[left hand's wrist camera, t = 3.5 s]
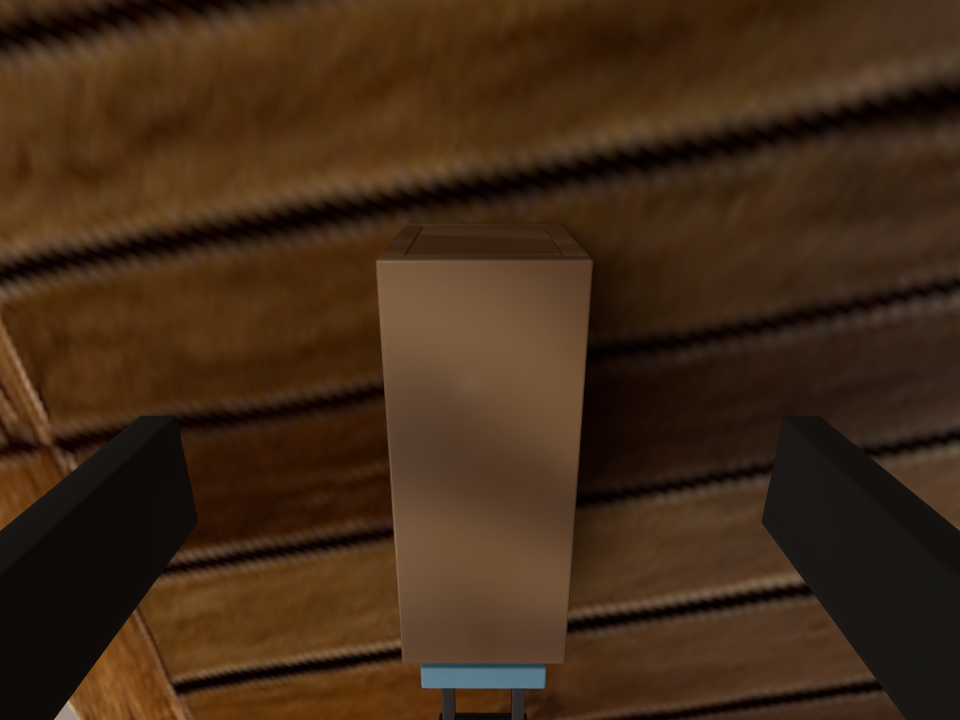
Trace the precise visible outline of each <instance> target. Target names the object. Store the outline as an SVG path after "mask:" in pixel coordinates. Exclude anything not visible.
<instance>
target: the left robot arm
mask: <svg viewBox="0 0 960 720" xmlns="http://www.w3.org/2000/svg"><path fill="white" fill-rule="evenodd" d="M197 524H198V517H197V513H196V508H195V503H194V498H193V494H192V489H191V484H190V479H189V475H188V470H187V465H186V460H185V456H184V451H183V446H182V441H181V437H180V432H179V427H178V422H177V418H176V416H140V417H139V418H138V419H136V420H135V421H134V422H133V423H131V424H130V425H129V426H128V427H127V428H125V429H124V430H123V431H122V432H120V433H119V434H118V435H117V436H116V437H114V438H113V439H112V440H111V441H109V442H108V443H107V444H106V445H105V446H103V447H102V448H101V449H100V450H99V451H97V452H96V453H95V454H94V455H92V456H91V457H90V458H89V459H88V460H86V461H85V462H84V463H83V464H81V465H80V466H79V467H78V468H77V469H75V470H74V471H73V472H72V473H70V474H69V475H68V476H67V477H66V478H64V479H63V480H62V481H61V482H59V483H58V484H57V485H56V486H55V487H53V488H52V489H51V490H50V491H48V492H47V493H46V494H45V495H44V496H42V497H41V498H40V499H39V500H38V501H36V502H35V503H34V504H33V505H31V506H30V507H29V508H28V509H27V510H25V511H24V512H23V513H22V514H20V515H19V516H18V517H17V518H16V519H14V520H13V521H12V522H11V523H9V524H8V525H7V526H6V527H5V528H3V529H2V530H1V531H0V720H54V719H55V717H56V716H57V715H58V713H59V712H60V711H61V709H62V708H63V707H64V705H65V704H66V702H67V701H68V700H69V698H70V697H71V696H72V694H73V693H74V692H75V690H76V689H77V687H78V686H79V685H80V683H81V682H82V681H83V679H84V678H85V677H86V675H87V674H88V672H89V671H90V670H91V668H92V667H93V666H94V664H95V663H96V661H97V660H98V659H99V657H100V656H101V655H102V653H103V652H104V651H105V649H106V648H107V646H108V645H109V644H110V642H111V641H112V640H113V638H114V637H115V636H116V634H117V633H118V631H119V630H120V629H121V627H122V626H123V625H124V623H125V622H126V621H127V619H128V618H129V616H130V615H131V614H132V612H133V611H134V610H135V608H136V607H137V606H138V604H139V603H140V601H141V600H142V599H143V597H144V596H145V595H146V593H147V592H148V590H149V589H150V588H151V586H152V585H153V584H154V582H155V581H156V580H157V578H158V577H159V575H160V574H161V573H162V571H163V570H164V569H165V567H166V566H167V565H168V563H169V562H170V560H171V559H172V558H173V556H174V555H175V554H176V552H177V551H178V550H179V548H180V547H181V545H182V544H183V543H184V541H185V540H186V539H187V537H188V536H189V534H190V533H191V532H192V530H193V529H194V528H195V526H196V525H197ZM762 524H763V525H764V526H765V528H766V529H767V530H768V532H769V533H770V534H771V536H772V537H773V539H774V540H775V541H776V543H777V544H778V545H779V547H780V548H781V550H782V551H783V552H784V554H785V555H786V556H787V558H788V559H789V560H790V562H791V563H792V565H793V566H794V567H795V569H796V570H797V571H798V573H799V574H800V575H801V577H802V578H803V580H804V581H805V582H806V584H807V585H808V586H809V588H810V589H811V590H812V592H813V593H814V595H815V596H816V597H817V599H818V600H819V601H820V603H821V604H822V606H823V607H824V608H825V610H826V611H827V612H828V614H829V615H830V616H831V618H832V619H833V621H834V622H835V623H836V625H837V626H838V627H839V629H840V630H841V631H842V633H843V634H844V636H845V637H846V638H847V640H848V641H849V642H850V644H851V645H852V646H853V648H854V649H855V651H856V652H857V653H858V655H859V656H860V657H861V659H862V660H863V662H864V663H865V664H866V666H867V667H868V668H869V670H870V671H871V672H872V674H873V675H874V677H875V678H876V679H877V681H878V682H879V683H880V685H881V686H882V687H883V689H884V690H885V692H886V693H887V694H888V696H889V697H890V698H891V700H892V701H893V702H894V704H895V705H896V707H897V708H898V709H899V711H900V712H901V713H902V715H903V716H904V717H905V719H906V720H960V531H959V530H958V529H957V528H955V527H954V526H953V525H952V524H951V523H949V522H948V521H947V520H946V519H944V518H943V517H942V516H941V515H940V514H938V513H937V512H936V511H935V510H933V509H932V508H931V507H930V506H929V505H927V504H926V503H925V502H924V501H922V500H921V499H920V498H919V497H918V496H916V495H915V494H914V493H913V492H912V491H910V490H909V489H908V488H907V487H905V486H904V485H903V484H902V483H901V482H899V481H898V480H897V479H896V478H894V477H893V476H892V475H891V474H890V473H888V472H887V471H886V470H885V469H883V468H882V467H881V466H880V465H879V464H877V463H876V462H875V461H874V460H872V459H871V458H870V457H869V456H868V455H866V454H865V453H864V452H863V451H861V450H860V449H859V448H858V447H857V446H855V445H854V444H853V443H852V442H851V441H849V440H848V439H847V438H846V437H844V436H843V435H842V434H841V433H840V432H838V431H837V430H836V429H835V428H833V427H832V426H831V425H830V424H829V423H827V422H826V421H825V420H824V419H822V418H821V417H820V416H784V418H783V422H782V427H781V432H780V437H779V441H778V446H777V451H776V456H775V460H774V465H773V470H772V475H771V479H770V484H769V489H768V494H767V498H766V503H765V508H764V513H763V517H762Z"/></svg>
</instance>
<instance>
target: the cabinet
mask: <svg viewBox="0 0 960 720" xmlns="http://www.w3.org/2000/svg"><path fill="white" fill-rule="evenodd" d="M592 271H593V260H592V259H591V258H590V257H589V256H588V254H587V253H586V252H585V251H584V250H583V248H582V247H581V246H580V245H579V244H578V243H577V242H576V241H575V239H574V238H573V237H572V236H571V235H570V234H569V233H568V232H567V230H566V229H565V228H564V227H563V226H562V224H561V223H407V224H406V225H405V226H404V228H403V229H402V230H401V231H400V232H399V233H398V235H397V236H396V237H395V238H394V239H393V241H392V242H391V243H390V244H389V245H388V246H387V248H386V249H385V250H384V251H383V252H382V254H381V255H380V256H379V258H378V259H377V260H376V273H377V288H378V303H379V318H380V333H381V348H382V363H383V378H384V393H385V408H386V423H387V438H388V453H389V468H390V483H391V498H392V513H393V528H394V543H395V558H396V573H397V588H398V603H399V618H400V633H401V648H402V661H403V663H546V664H563V663H564V662H565V650H566V636H567V622H568V608H569V594H570V580H571V566H572V552H573V538H574V524H575V510H576V496H577V482H578V468H579V454H580V439H581V425H582V411H583V397H584V383H585V369H586V355H587V341H588V327H589V313H590V299H591V285H592Z"/></svg>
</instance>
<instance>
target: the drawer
mask: <svg viewBox="0 0 960 720" xmlns="http://www.w3.org/2000/svg"><path fill="white" fill-rule="evenodd" d="M545 680H546V663H421V685H422V688H442V713H440V715H439V720H527V714H526V713H524V697H525V688H545ZM455 688H511V713H456V707H455Z"/></svg>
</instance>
